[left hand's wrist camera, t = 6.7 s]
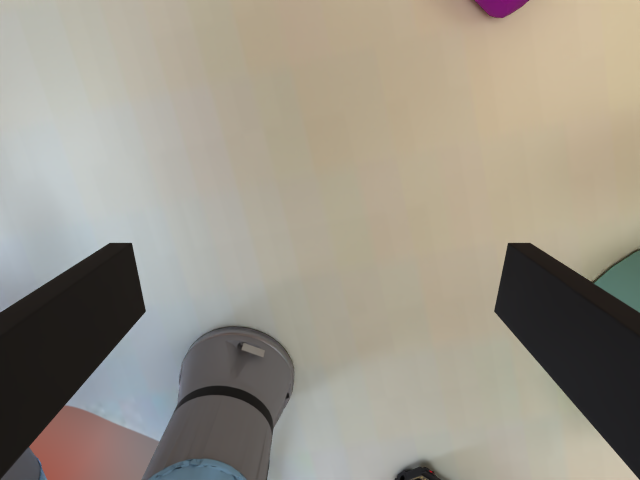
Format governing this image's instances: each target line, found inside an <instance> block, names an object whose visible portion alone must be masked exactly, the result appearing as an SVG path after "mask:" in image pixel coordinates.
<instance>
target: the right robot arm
mask: <svg viewBox="0 0 640 480" xmlns="http://www.w3.org/2000/svg"><path fill="white" fill-rule="evenodd" d="M293 382H294V368H293V364H292V361H291V359H290V357H289V355H288V353H287V352H286V350H285V349H284V348H283V347H282V346H281V345H280V344H279V343H278V342H277V341H275V340H274V339H273V338H271V337H270V336H268V335H266V334H264V333H262V332H259V331H256V330H253V329H249V328H243V327H227V328H221V329H217V330H214V331H211V332H209V333H207V334H205V335H203V336H202V337H200V338H199V339H198V340H197V341H196V342H195V343H194V344H193V345H192V346H191V347H190V349H189V351H188V352H187V354H186V356H185V358H184V360H183V362H182V365H181V369H180V376H179V385H180V387H179V395H178V404H177V407H176V409H175V411H174V413H173V415H172V417H171V419H170V421H169V423H168V426H167V428H166V430H165V432H164V434H163V436H162V438H161V440H160V442H159V444H158V446H157V448H156V451H155V453H154V455H153V457H152V459H151V461H150V463H149V465H148V467H147V469H146V471H145V474H144V475H143V478H142V480H267V474H268V469H269V456H270V449H271V442H272V435H273V428H274V427H275V425H276V423H277V421H278V419H279V417H280V416H281V414H282V412H283V410H284V408H285V407H286V405H287V403H288V401H289V399H290V396H291V394H292V390H293ZM41 466H42V465H41V462H40V461H39V459H38V458H37V457H36V456H35V455H34V454H33V452H32V451H31V449H30V448H29V447H28V448H27V449H26V451H25V452H24V453H23V454H22V455H21V456H20V458H19V459H18V460H17V461H16V462H15V463H14V464H13V466H12V467H11V468H10V469H9V470H8V471H7V473H6V474H5V475H4V476H3V477H2V478H1V480H47V479H46V477H45V474H44V472H43V470H42V467H41Z"/></svg>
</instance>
